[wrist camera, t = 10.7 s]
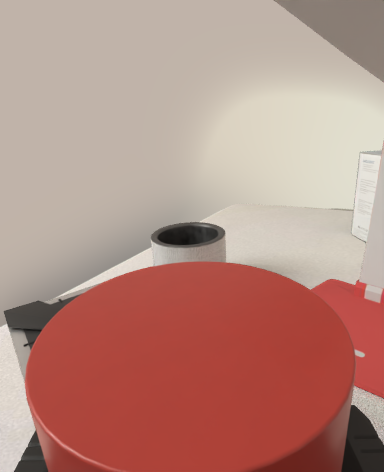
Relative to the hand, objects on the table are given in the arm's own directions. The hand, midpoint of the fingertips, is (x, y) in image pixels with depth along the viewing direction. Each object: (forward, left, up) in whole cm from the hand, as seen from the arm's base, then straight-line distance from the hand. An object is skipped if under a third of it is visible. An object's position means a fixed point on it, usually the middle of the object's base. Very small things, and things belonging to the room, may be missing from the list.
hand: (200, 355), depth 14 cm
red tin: (-5, -2, -7) cm, 8 cm away
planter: (+34, +20, -19) cm, 44 cm away
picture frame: (+16, +29, -19) cm, 38 cm away
